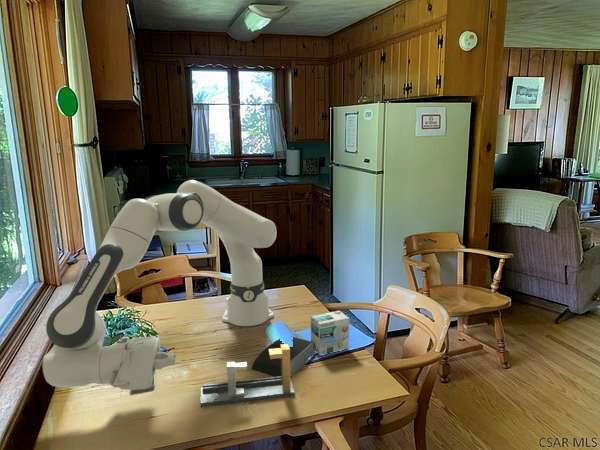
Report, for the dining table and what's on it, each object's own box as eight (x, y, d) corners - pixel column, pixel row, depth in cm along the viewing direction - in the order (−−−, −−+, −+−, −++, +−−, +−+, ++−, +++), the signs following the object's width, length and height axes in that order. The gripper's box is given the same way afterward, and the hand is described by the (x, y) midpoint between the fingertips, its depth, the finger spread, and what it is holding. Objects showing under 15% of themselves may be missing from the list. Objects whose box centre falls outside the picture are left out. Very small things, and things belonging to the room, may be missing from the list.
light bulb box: (319, 356, 138) (319, 324, 135) (309, 347, 144) (309, 315, 141) (349, 349, 142) (350, 317, 140) (339, 340, 148) (339, 309, 146)
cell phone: (154, 371, 131) (154, 366, 131) (155, 391, 121) (154, 386, 121) (131, 374, 129) (131, 370, 129) (130, 396, 119) (130, 391, 119)
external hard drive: (319, 353, 141) (319, 340, 140) (286, 382, 125) (286, 369, 124) (284, 343, 147) (284, 331, 147) (248, 370, 131) (248, 357, 130)
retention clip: (228, 392, 117) (226, 362, 115) (247, 390, 118) (246, 360, 116) (228, 397, 115) (227, 367, 113) (248, 395, 116) (247, 364, 114)
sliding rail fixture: (201, 391, 120) (198, 346, 117) (290, 381, 124) (289, 337, 121) (200, 407, 113) (197, 359, 110) (294, 396, 117) (294, 349, 115)
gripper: (106, 374, 99) (170, 368, 102) (123, 334, 119) (177, 330, 122) (108, 399, 101) (172, 393, 103) (125, 356, 120) (179, 351, 123)
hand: (175, 358), depth 112 cm, fingers closed
